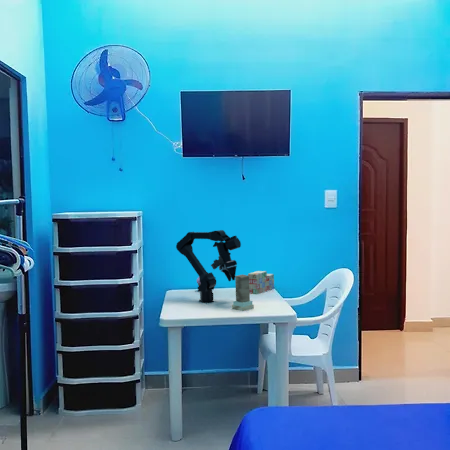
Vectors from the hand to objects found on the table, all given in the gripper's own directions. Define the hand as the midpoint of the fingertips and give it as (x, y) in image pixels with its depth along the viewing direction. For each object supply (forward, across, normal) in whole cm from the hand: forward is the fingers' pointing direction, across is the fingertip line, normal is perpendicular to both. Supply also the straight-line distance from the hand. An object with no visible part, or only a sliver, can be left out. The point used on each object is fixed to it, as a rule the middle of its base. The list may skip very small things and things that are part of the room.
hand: (231, 280), depth 247 cm
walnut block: (+11, +9, +1) cm, 14 cm away
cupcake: (+2, -45, -8) cm, 46 cm away
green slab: (+13, +8, 0) cm, 16 cm away
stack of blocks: (+12, -34, +24) cm, 44 cm away
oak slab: (+16, +8, 0) cm, 18 cm away
